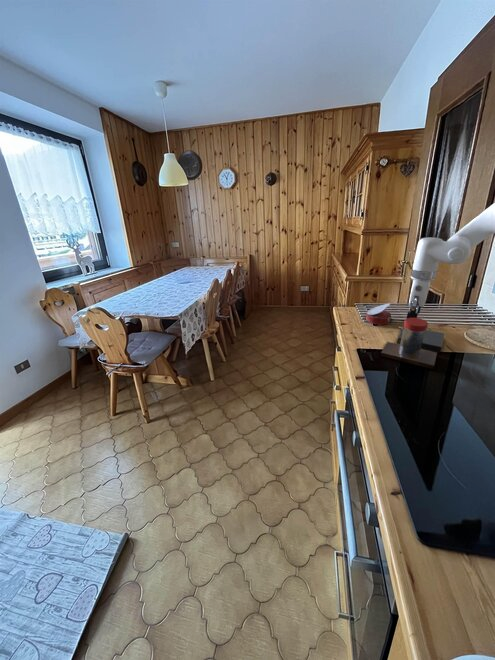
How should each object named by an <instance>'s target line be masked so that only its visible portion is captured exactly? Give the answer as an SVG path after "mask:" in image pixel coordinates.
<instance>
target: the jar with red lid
mask: <svg viewBox="0 0 495 660" xmlns="http://www.w3.org/2000/svg"><path fill="white" fill-rule="evenodd" d="M406 318H407V317H406ZM406 318H405V319H404V323H403V326H404V329H403V334H402V338H401V343H400V348H399V353H400V354H402V355H404V356H406V357H412V358H413V357H418V356H419V355H420V351H421V347H422V343H423V339H424V335H425V332H426V330H428V326H429V323H428V321H427V320H425V319H423V318H421V319H420V318H419V317H417V318H407V319H406Z"/></svg>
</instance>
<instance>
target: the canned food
mask: <svg viewBox="0 0 495 660" xmlns="http://www.w3.org/2000/svg"><path fill="white" fill-rule="evenodd" d="M390 305H391V303H390V302H389V303H385V304H380V305H377V306H374V307H372V308H370V309H369V310H367V311H366V317H365V321H367V322H369V323H371V324H374V325H387V324H390V322H391V318H392V313H391V312H389V311H387V310H385V309H387V308H388V307H390Z"/></svg>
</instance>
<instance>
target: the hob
mask: <svg viewBox="0 0 495 660" xmlns="http://www.w3.org/2000/svg"><path fill="white" fill-rule="evenodd" d="M398 328H399V329H401V330H400V332H399V334H398V337H397V341H396V344H400V343H401V338H402V334H403V329H404V325H403V326H398ZM444 339H445V332H443V331H442V332H441V331H436V330H433V329H426V332H425V335H424V339H423V343H422V347H421V349H422V350H427V351H431V352H436V353H437V354H441V351H442V348H443V343H444Z"/></svg>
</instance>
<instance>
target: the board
mask: <svg viewBox="0 0 495 660" xmlns="http://www.w3.org/2000/svg"><path fill="white" fill-rule="evenodd" d="M399 348H400V344H397V343H395V342H391V341H386V343H385V345H384V346H383V348H382V351H381V353H380V357H383V358H387V359H391V360H394V361H399V362H403V363H407V364H411V365H415V366H418V367H423V368H427V369H430V370H434V369H435V368H434V367H435V364H436V359H437V355H438V352H433V351H429V350H424V349H421V351H420V355H419V356H418V357H413V358H412V357H406V356H404V355H402V354H400V353H399Z"/></svg>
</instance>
